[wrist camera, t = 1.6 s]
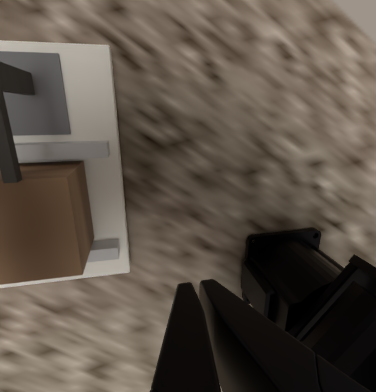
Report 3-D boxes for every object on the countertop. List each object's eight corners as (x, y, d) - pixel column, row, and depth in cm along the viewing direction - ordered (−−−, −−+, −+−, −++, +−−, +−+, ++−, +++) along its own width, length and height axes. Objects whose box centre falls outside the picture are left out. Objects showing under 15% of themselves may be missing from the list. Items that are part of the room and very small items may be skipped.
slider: (70, 64, 13) (40, 43, 9) (94, 237, 16) (80, 281, 12) (-17, 62, 12) (-94, 37, 8) (26, 244, 16) (-14, 292, 11)
